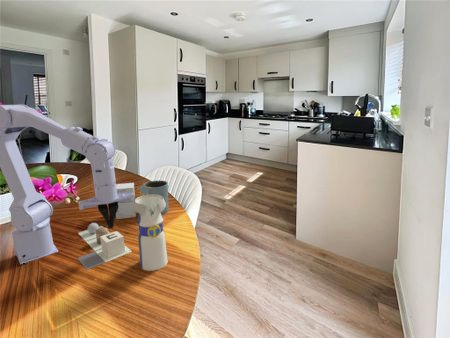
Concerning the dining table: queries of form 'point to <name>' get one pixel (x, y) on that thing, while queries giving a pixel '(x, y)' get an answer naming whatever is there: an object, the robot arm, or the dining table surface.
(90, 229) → the grey ball
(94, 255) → the slate mat
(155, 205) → the cream belted figurine
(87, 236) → the tile set
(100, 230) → the cork
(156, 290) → the dining table surface
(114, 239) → the letter cube
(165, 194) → the grey plant pot
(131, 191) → the supplement box
